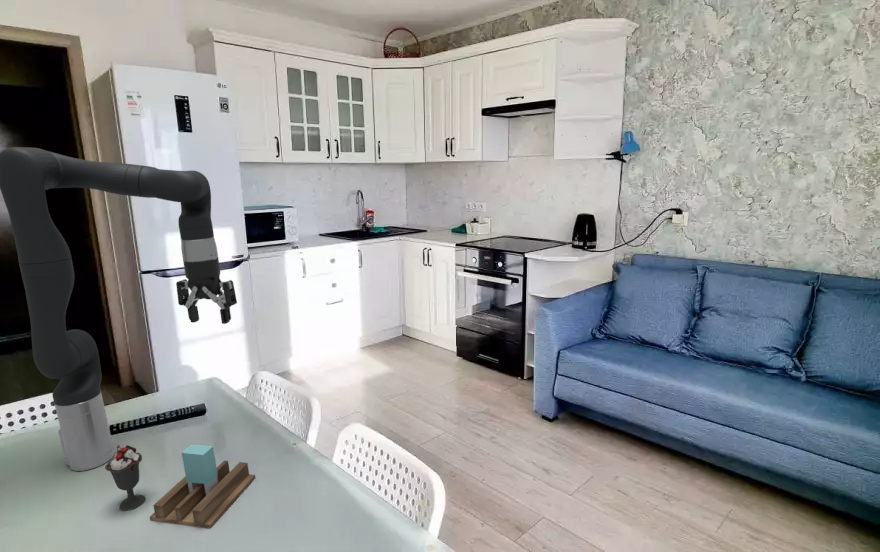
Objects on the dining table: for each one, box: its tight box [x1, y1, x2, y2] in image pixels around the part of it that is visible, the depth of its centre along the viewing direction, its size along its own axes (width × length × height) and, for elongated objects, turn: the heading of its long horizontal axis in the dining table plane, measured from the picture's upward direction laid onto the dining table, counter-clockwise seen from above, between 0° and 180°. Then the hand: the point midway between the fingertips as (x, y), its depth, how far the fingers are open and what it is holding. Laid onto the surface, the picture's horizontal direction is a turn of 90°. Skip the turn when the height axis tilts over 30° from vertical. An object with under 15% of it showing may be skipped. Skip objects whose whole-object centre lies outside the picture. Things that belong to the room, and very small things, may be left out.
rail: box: [149, 460, 256, 529], centre depth 106 cm, size 14×16×4 cm
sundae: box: [104, 444, 147, 511], centre depth 104 cm, size 7×7×15 cm
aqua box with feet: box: [181, 444, 218, 495], centre depth 105 cm, size 5×3×11 cm, turn 78°
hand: (210, 322), depth 120 cm, fingers open, 8 cm apart
